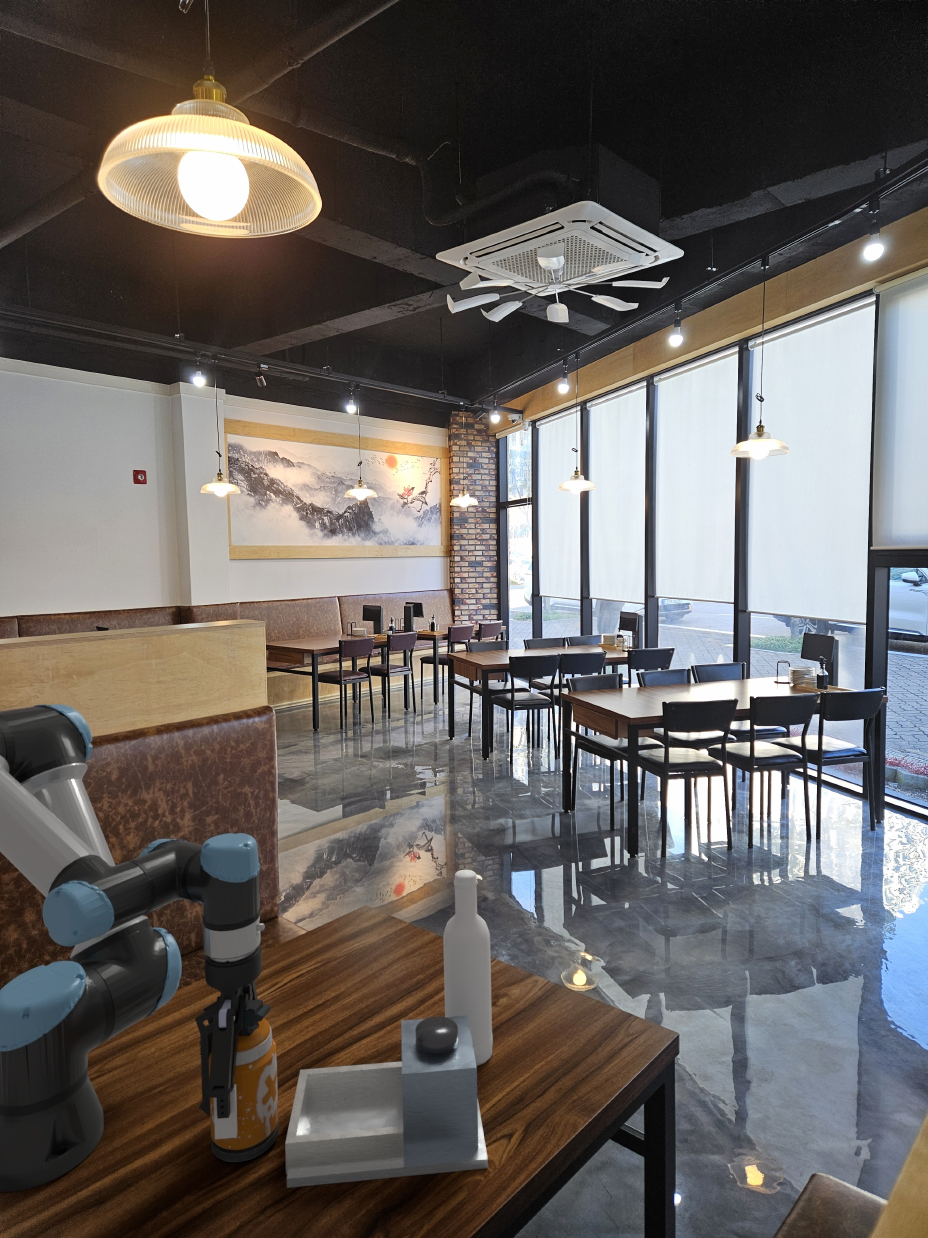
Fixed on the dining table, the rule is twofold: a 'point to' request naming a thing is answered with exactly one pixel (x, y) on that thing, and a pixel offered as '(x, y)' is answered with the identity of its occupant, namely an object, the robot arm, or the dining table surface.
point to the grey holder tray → (390, 1112)
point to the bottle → (469, 966)
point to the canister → (245, 1084)
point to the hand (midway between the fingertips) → (237, 1101)
